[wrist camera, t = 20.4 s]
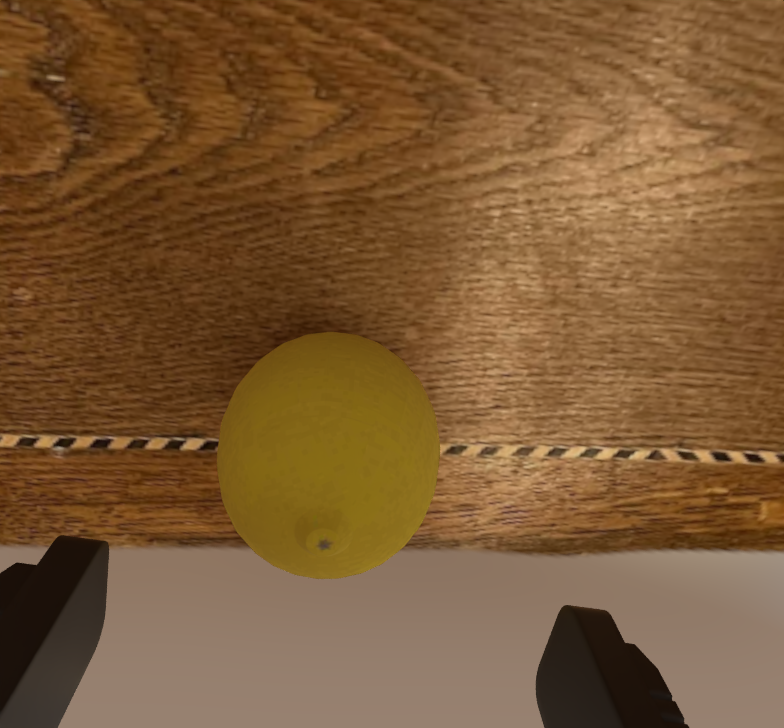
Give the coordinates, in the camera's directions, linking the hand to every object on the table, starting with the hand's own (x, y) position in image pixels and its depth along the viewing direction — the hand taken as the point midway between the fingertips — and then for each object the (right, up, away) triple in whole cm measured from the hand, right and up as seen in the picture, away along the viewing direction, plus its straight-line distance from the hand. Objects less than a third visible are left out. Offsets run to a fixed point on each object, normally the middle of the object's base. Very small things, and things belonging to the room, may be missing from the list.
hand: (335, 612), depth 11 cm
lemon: (-1, +4, +9) cm, 10 cm away
